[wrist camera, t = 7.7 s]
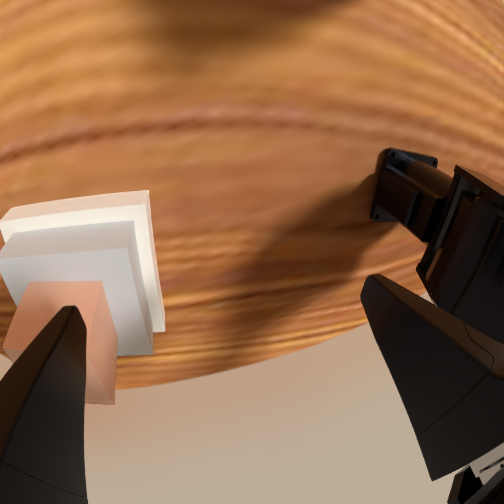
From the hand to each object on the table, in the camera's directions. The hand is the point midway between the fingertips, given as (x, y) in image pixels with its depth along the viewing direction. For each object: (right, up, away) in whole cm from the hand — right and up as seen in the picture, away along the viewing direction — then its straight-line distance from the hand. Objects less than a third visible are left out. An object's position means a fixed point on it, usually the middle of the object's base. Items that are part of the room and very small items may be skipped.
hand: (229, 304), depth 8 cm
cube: (-10, -2, +7) cm, 13 cm away
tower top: (-11, -1, +9) cm, 14 cm away
